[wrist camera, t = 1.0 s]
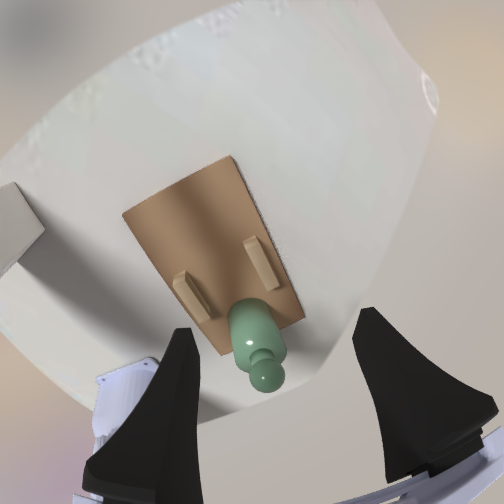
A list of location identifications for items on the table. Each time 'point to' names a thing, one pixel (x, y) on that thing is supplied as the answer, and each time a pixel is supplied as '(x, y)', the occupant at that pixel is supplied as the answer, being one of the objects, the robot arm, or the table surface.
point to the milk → (15, 226)
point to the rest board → (213, 250)
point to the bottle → (257, 343)
